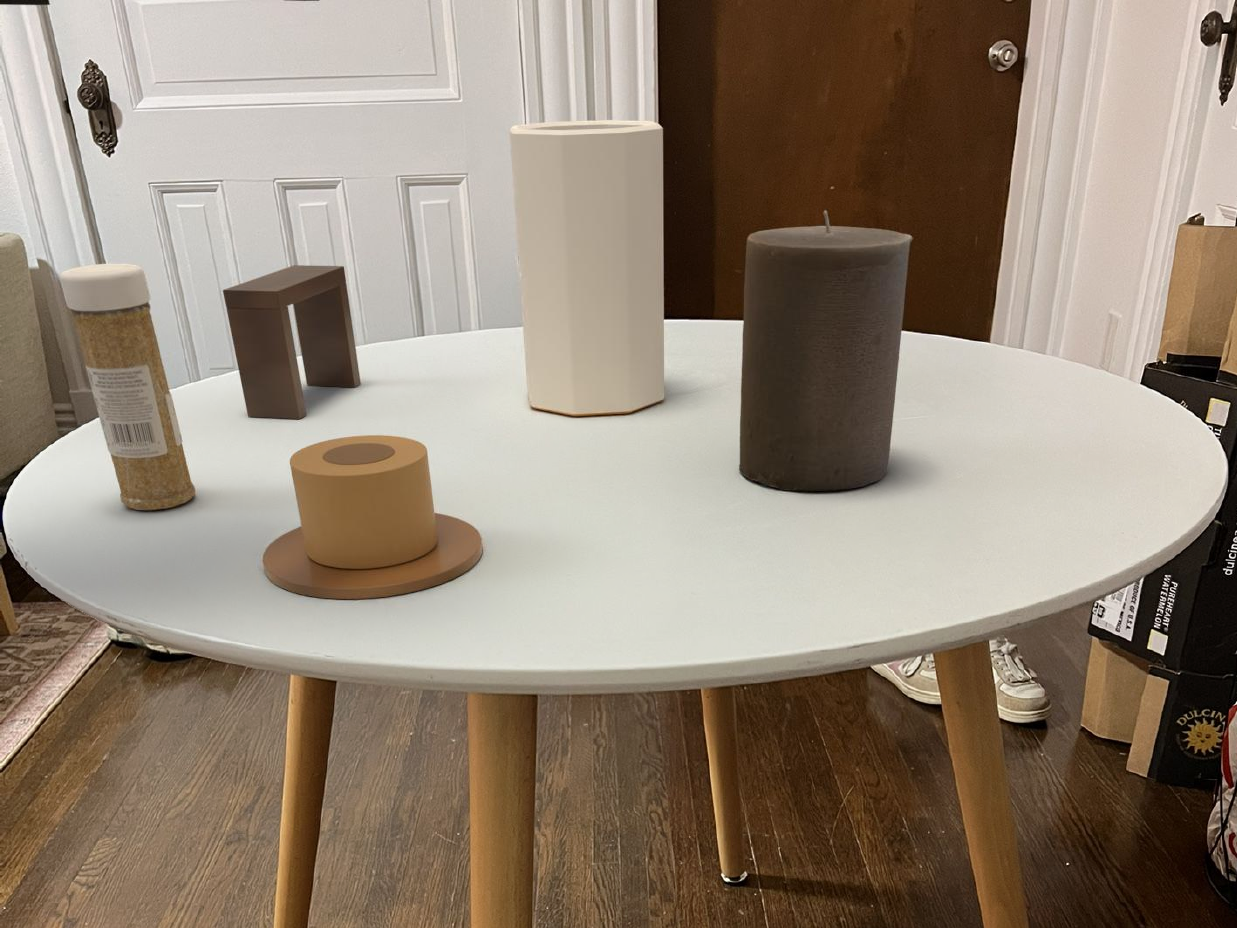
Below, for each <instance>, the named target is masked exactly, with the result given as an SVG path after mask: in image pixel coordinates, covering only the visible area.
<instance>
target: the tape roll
mask: <svg viewBox="0 0 1237 928" xmlns="http://www.w3.org/2000/svg"><path fill="white" fill-rule="evenodd" d="M289 466H290V472H291V478H292V481H293V483H292V484H293V489H294V494H295V499H296V505H297V510H298V516H299V520H300V524H301V525H300V527H301V526H302V532H303V537H304V543H305V548H306V553H307V555H308V556H309V558H310V559H312V560H313V561H315V562H317V563H319V564H322V565H326V566H330V567H335V568H344V569H370V568H380V567H387V566H392V565H397V564H401V563H405V562H408V561H411V560H414V559H416V558H419V557H421V556H423V555H425V554H427V553H428V552H430V551H431V550H432V549H433V548H434V547H435V546H436V544H437V540H438V538H437V530H436V521H435V513H436V512H435V505H434V498H433V497H434V496H433V489H432V488H433V487H432V479H431V472H430V464H429V455H428V448H427V446H426V445H425V444H423V443H422V442H420V441H418V440H416V439H412V438H408V437H404V436H397V435H396V436H395V435H386V434H385V435H384V434H383V435H382V434H381V435H380V434H377V435H376V434H375V435H373V434H372V435H368V434H367V435H353V436H345V437H337V438H333V439H326V440H324V441H320V442H319V441H318V442H316V443H313V444H310V445H308V446H305V447H303V448H301V449H298V450H297V451H296V452H294V453H293V454H292V455H291V457H290V458H289Z"/></svg>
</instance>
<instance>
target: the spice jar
mask: <svg viewBox="0 0 1237 928" xmlns="http://www.w3.org/2000/svg"><path fill="white" fill-rule="evenodd" d="M59 280H60V284H61V290H62V293H63V297H64V301H65V303H66V304H65V305H66V307H67V308H68V309H70V315H71V316H72V318H73V321H74V324H75V328H76V332H77V336H78V340H79V343H80V347H81V351H82V355H83V359H84V366H85V370H86V373H87V377H88V381H89V384H90V388H91V392H92V397H93V399H94V403H95V407H96V410H97V413H98V418H99V421H100V425H101V429H102V432H103V435H104V439H105V443H106V447H107V450H108V453H109V454H110V457H111V461H112V464H113V467H114V472H115V476H116V479H117V483H118V486H119V492H120V496H119V497H120V502H121V503H122V504H123V505H124V506H126V507H127V508H130V509H133V510H138V511H139V510H140V511H155V510H156V511H157V510H166V509H171V508H176V507H177V506H180V505H183V504H186V503H187V502H190V501H191V500H192V498H193V497H194V496H195V493H196V487H195V485H194V483H193V482H192V479H191V475H190V470H189V468H188V467H189V466H188V464H187V457H186V455H185V451H184V446H183V437H182V433H181V429H180V425H179V424H180V423H179V421H178V417H177V413H176V412H177V411H176V408H175V403H174V400H173V396H172V393H171V391H170V388H169V384H168V379H167V375H166V371H165V367H164V364H163V360H162V355H161V351H160V346H159V342H158V338H157V335H156V331H155V326H154V322H153V320H152V319H153V318H152V314H151V304H150V300H151V294H150V291H149V286H148V282H147V278H146V275H145V272H144V269H143V268H142V267H141V266H139V265H138V264H133V263H98V264H89V265H83V266H77V267H72V268H69V269H65V270H64V271H62V272H61V273H60V275H59Z"/></svg>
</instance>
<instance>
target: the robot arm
mask: <svg viewBox="0 0 1237 928" xmlns="http://www.w3.org/2000/svg"><path fill="white" fill-rule="evenodd" d="M285 1H291V2H293V1H295V2H319V1H320V0H285ZM0 5H1V6H8V5H9V6H50V5H51V4H50V0H0Z"/></svg>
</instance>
